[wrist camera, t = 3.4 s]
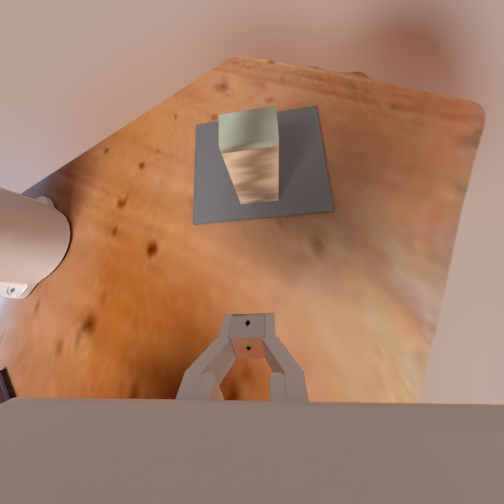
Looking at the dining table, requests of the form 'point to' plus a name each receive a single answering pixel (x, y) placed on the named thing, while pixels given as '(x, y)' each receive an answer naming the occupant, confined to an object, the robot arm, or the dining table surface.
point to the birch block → (251, 153)
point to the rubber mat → (290, 173)
